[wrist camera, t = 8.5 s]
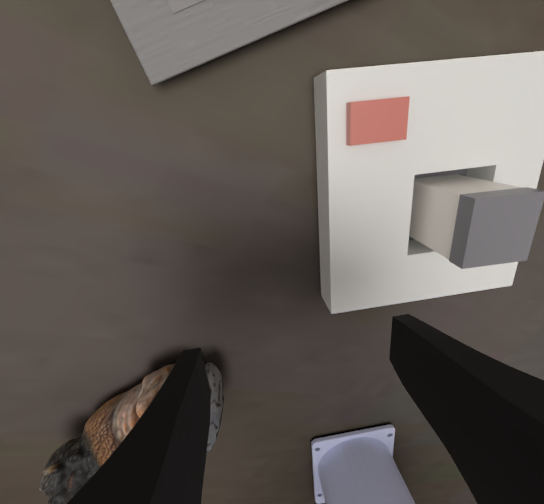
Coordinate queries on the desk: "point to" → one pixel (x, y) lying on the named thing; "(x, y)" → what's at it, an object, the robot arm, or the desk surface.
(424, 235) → the plug
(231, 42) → the electrical outlet
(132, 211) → the desk surface
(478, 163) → the socket plate
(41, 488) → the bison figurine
